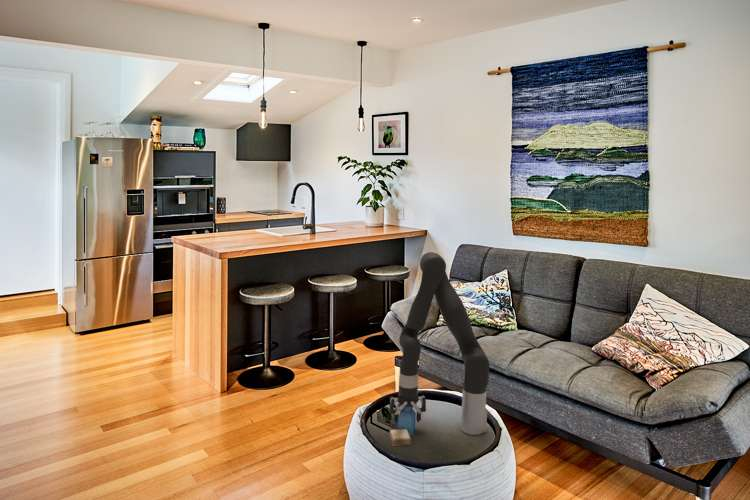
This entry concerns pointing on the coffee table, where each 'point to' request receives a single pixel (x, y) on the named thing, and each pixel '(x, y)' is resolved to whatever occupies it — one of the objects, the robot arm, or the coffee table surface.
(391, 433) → the pedestal
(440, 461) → the coffee table surface
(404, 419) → the perfume bottle
